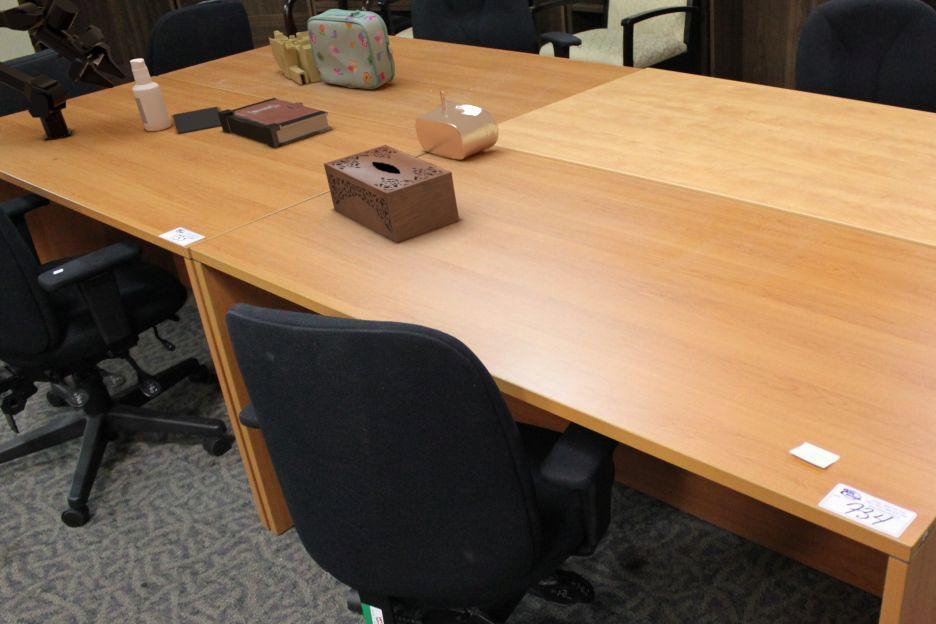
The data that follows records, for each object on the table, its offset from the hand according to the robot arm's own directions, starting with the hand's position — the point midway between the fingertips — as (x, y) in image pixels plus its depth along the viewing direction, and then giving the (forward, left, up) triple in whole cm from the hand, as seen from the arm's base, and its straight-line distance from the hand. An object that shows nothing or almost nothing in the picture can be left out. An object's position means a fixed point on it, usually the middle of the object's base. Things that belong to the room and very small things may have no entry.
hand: (119, 82), depth 257 cm
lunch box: (-5, +63, -13) cm, 65 cm away
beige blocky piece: (-29, +55, -13) cm, 64 cm away
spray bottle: (+2, +6, -13) cm, 15 cm away
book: (+26, +34, -13) cm, 45 cm away
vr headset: (+72, +70, -13) cm, 102 cm away
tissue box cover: (+103, +46, -13) cm, 114 cm away
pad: (+2, +16, -13) cm, 21 cm away
